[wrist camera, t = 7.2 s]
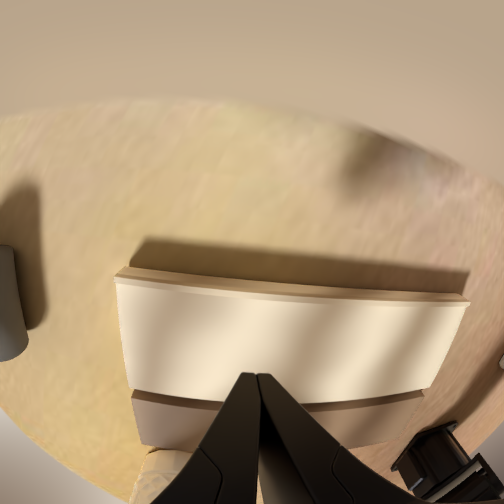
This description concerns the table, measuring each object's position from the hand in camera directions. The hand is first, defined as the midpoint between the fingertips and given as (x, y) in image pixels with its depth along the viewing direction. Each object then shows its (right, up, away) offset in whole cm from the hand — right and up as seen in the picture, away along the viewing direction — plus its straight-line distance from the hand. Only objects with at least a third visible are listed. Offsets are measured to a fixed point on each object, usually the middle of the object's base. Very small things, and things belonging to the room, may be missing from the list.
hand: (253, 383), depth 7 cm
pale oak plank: (+3, -1, +7) cm, 8 cm away
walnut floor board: (+2, -8, +9) cm, 12 cm away
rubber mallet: (-19, +2, +6) cm, 19 cm away
